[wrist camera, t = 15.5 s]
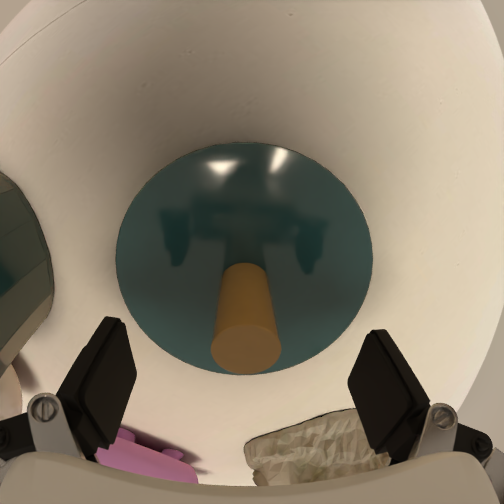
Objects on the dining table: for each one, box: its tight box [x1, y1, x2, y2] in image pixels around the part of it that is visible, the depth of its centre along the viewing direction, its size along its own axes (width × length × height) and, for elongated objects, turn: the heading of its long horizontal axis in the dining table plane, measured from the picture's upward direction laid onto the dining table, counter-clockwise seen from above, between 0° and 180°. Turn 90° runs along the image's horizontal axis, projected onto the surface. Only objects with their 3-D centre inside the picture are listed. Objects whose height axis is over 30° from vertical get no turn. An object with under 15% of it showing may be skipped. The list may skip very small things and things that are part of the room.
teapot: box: [96, 428, 198, 484], centre depth 19 cm, size 20×12×13 cm, turn 53°
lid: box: [116, 142, 373, 375], centre depth 12 cm, size 14×14×6 cm
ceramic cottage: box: [244, 409, 389, 486], centre depth 18 cm, size 16×16×15 cm
